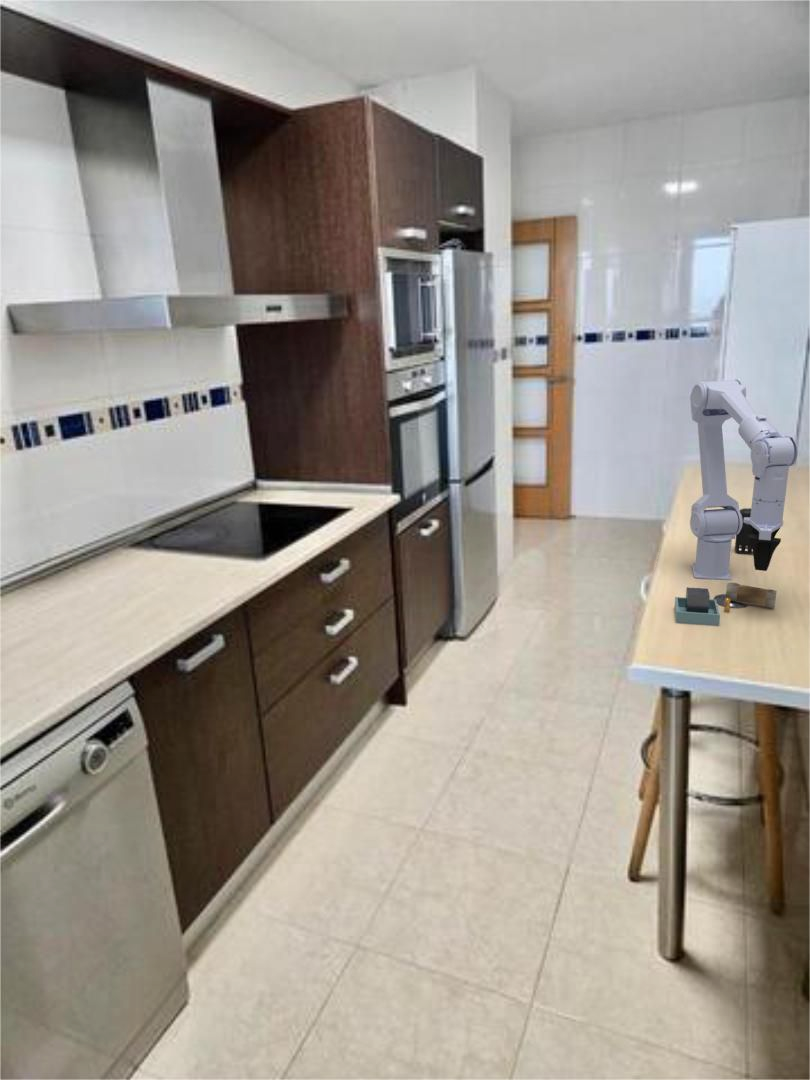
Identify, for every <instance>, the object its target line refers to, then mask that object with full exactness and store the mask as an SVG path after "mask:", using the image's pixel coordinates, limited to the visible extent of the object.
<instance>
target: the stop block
mask: <svg viewBox="0 0 810 1080" xmlns="http://www.w3.org/2000/svg"><path fill="white" fill-rule="evenodd" d="M685 589H686V590H685V598H686V601H685V612H696V613H708V610H709V599H710V598H711V595H710V590H709V588H703V587H702V588H701V587H686V588H685Z"/></svg>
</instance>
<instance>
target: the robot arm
mask: <svg viewBox="0 0 810 1080" xmlns="http://www.w3.org/2000/svg"><path fill="white" fill-rule="evenodd" d="M689 399H690V401H689V402H690V411H691V412H690V413H691V414H690V415H691V419H692V421H693V422H695V423H697V433H698V445H699V448H698V449H699V459H700V473H701V483H702V484H701V485H702V487H701V488H702V495H701V497H699V498H698V500H695V502H694V503H693V504H692V505H691V509H690V510H691V511H690V513H691V514H690V520H689V525H690V530H691V532H692V534H693V536H694V537H696V538H697V539H696V552H695V554H696V555H695V562H692V563H691V569H692V574H693V578H694V579H706V580H708V579H709V580H724V581H732V580H733V576H732V574H731V571H730V559H731V553H732V551H731V550H732V541H733V540H736V535H737V534H738V533H739V532H740V530H741V529H742V525H743V522H744V523H749V524H750V527H751V529H752V532H753V534H749V537H748V539H749V542H750V544H751V546H752V550H753V566H754V570H755V571H763V572H767V570H768V569H769V567H770V563H771V560H772V557H773V555H774V552H775V551H776V549H777V548H778V546H779V545H780V544H781V542H782V539H781V538H780V537H779V538H778V537H776V535H777V533H778V532H779V531H780V530H781V527H784V520H783V518H784V511H785V510H784V509H785V503H786V494H787V485H788V477H789V471H790V467H792V466H793V465H795V463H796V461H797V459H798V455H799V448H798V445H797V442H796V440H795V439H794V437H793V436H791V435H785V434H781V433H780V432H779V431H778V429H776V428H775V426H774V425H773V424H772V423H771V422H770V420H769V419H768V417H767V416H766V415H765V414H759V413H756V412H755V410H754V409H753V408H752V406H751V405H750V403H749V401H748V400H747V387H746V385H745V384H744V383H743V381H742V380H741V379H739V378H738V379H733V380H717V381H714V380H713V381H698V382H696V383H695V385H693V387H692V390H691V393H690V397H689ZM730 419H733V420H734V421H735V422H736V423H737V424H738V425H739V426H738V430H737V431H738V435H739V436H740V437H741V439H742V440H743V441H744V443H745V444H746V446H747V447H748V448H749V449H750V459H751V464H752V465H751V466H752V469H751V471H752V475H753V476H754V480H753V481H754V482H753V490H752V499H751V507H750V508H751V516H750V517H744V521H743V520H742V515H741V513H740V507H739V506H740V505H739V502H738V501H737V500H736V499H734V498H733V497H732V496H730V495H729V494H728V487H727V474H726V463H725V462H726V461H725V460H726V459H725V448H724V435H723V425H724V423H725V421H728V420H730ZM708 508H709V509H708ZM711 508H716V509H711ZM717 508H719V509H717Z"/></svg>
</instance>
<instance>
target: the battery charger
mask: <svg viewBox="0 0 810 1080" xmlns="http://www.w3.org/2000/svg"><path fill="white" fill-rule="evenodd" d="M739 510H740V513H741V515H742V520H743V521H744V517H750V516H751V507H742V508H739ZM749 534H753V532H752V529H751V527H750V524H749V523H744V522H743V525H742V529H741V530H740V532H739V533H738V534H737V535H735V539H734V540H735V542H734V551H735V552H736V553H737V554H741V555H753V550H752V546H751V544H750V542H749V539H748V537H749Z"/></svg>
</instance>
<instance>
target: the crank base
mask: <svg viewBox="0 0 810 1080" xmlns="http://www.w3.org/2000/svg"><path fill="white" fill-rule="evenodd" d="M713 600H716V601H717V604H718V606H720V607H723V612H724V613H727V614H728V613H730V609H744V608H748V607H749V606H750V605H751V603H746V602H741V601H730V600H731V599H730V598H726V593H723V594H722V593H721V594H718V595H714V597H713Z"/></svg>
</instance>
